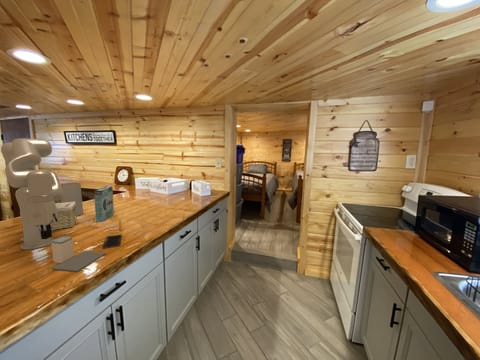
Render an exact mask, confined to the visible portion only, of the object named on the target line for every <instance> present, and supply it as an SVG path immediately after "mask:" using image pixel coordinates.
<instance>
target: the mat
mask: <svg viewBox="0 0 480 360" xmlns="http://www.w3.org/2000/svg"><path fill="white" fill-rule="evenodd" d="M106 255H107V252H101V251H91V250H83V251H81V252H79V253H78V254H76V255H74V257H72V258H70V259H68V260H66V261H65V262H63V263H59V264H57V265H55V266H54V267H52V268H51V270H52V271H61V270H62V272H74V273H78V272H80V271H82V270H83V269H85V268H86V267H88V266H89V265H91V264H92V263H94V262H96V261H97V260H100V259H101V258H103V257H104V256H106Z"/></svg>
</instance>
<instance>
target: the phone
mask: <svg viewBox="0 0 480 360" xmlns="http://www.w3.org/2000/svg"><path fill="white" fill-rule="evenodd" d="M122 237H123V235H122V234H117V235H116V234H115V235H109V236H106V237H105V239H104V242H103V244H102V249H103V250H105V249H112V248H116V247H120V246H121V243H122Z"/></svg>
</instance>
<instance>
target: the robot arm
mask: <svg viewBox="0 0 480 360" xmlns="http://www.w3.org/2000/svg"><path fill="white" fill-rule="evenodd" d="M0 150H1V151H0V152H1V155H2V157H3V159H4V161H5V162H6V163H7V164H6V165H5V169H4V172H5V177H6V181H7V183H8V185H9V186H10V187H11V188H14V189H17V188H18V189H17V190H15V199H16V201H17V203H18V204H17V205H18V207H19V213H20V212H21V216H20V217H21V226H22V231H23V232H22V234H23V237H21V238H20V241H21V242H22V241H23V243H22V244H21V245H20V249H21V250H22V251H23V250H25V251H27V250H28V251H29V250H34V249H35V250H36V249H41V248H44V247H47V246H49V245H52V244H51V241H53V240H55V239H56V238H54V237H53V234H52V230H51V229H52V227H53V226H56V225H57V223H56V222H57V221H58V213H57V208H56V205H55V203H56V202H59V201H61V199H62V198H63V195H64V194H63V189H62V187H61V184H62V183H61V181H60V179H59V177H58V174H57V173H56V172H55V171H54V170H51V169H37V168H36V166H38V165H40V163H41V161H42V158H47V157H48V156H50V155H51V154H52V152H53V147H52V145H51V143H50V142H49V140H46V139H41V138H25V137H23V138H16V139H14V140H13V141H9V142H5V143H3V144H2V145H1V147H0Z"/></svg>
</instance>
